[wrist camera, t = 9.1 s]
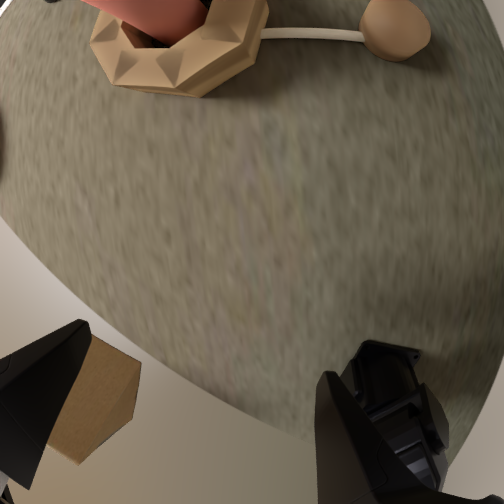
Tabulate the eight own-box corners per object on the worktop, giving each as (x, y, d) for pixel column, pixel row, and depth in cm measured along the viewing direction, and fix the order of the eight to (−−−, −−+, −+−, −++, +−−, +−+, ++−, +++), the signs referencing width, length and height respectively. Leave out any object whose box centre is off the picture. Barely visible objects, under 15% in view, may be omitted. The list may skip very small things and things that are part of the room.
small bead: (417, 25, 13) (432, 12, 10) (411, 71, 15) (427, 61, 12) (362, 3, 13) (371, -14, 11) (353, 48, 15) (362, 34, 12)
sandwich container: (85, 392, 35) (38, 460, 21) (82, 327, 29) (5, 410, 15) (133, 420, 35) (92, 495, 21) (143, 363, 29) (78, 467, 15)
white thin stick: (396, 39, 14) (399, 36, 13) (397, 48, 14) (401, 45, 14) (228, 33, 16) (226, 30, 15) (229, 43, 16) (226, 39, 15)
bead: (279, -19, 14) (273, -51, 9) (244, 105, 18) (228, 95, 14) (149, -20, 14) (123, -41, 10) (113, 91, 18) (77, 85, 14)
